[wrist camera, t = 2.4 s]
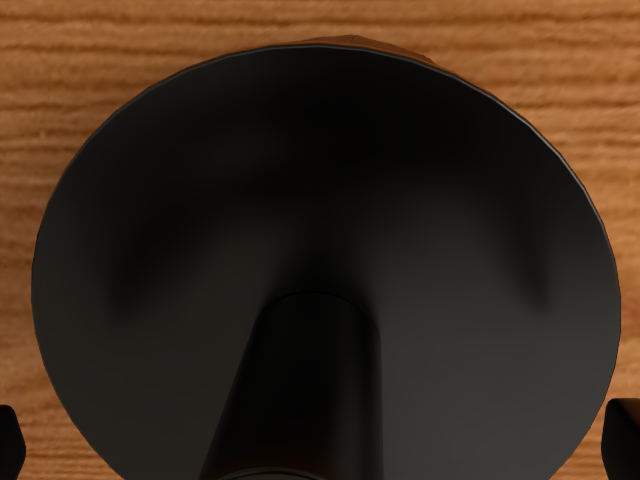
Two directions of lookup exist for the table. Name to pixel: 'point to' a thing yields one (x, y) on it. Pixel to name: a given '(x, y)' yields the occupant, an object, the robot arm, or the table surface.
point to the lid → (325, 277)
